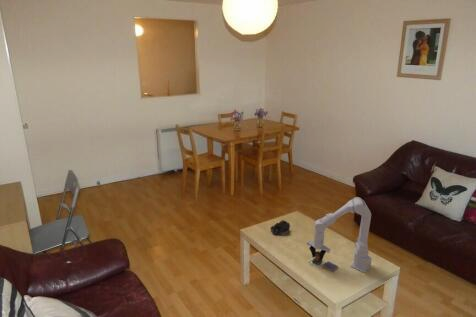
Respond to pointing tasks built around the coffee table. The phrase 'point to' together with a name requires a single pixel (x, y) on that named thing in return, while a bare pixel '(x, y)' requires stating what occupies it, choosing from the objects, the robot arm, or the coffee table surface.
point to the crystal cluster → (280, 228)
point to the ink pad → (330, 266)
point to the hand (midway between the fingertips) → (317, 258)
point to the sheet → (315, 264)
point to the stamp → (317, 258)
